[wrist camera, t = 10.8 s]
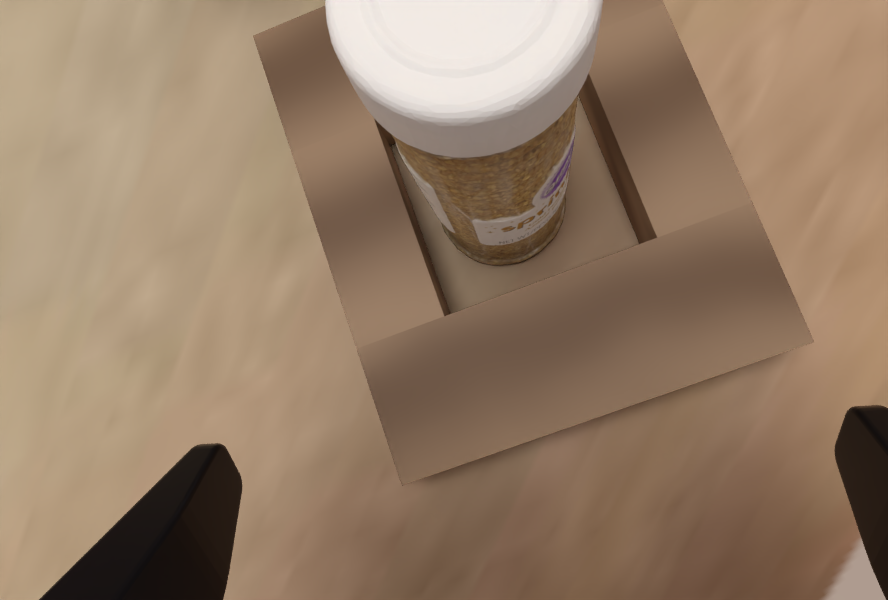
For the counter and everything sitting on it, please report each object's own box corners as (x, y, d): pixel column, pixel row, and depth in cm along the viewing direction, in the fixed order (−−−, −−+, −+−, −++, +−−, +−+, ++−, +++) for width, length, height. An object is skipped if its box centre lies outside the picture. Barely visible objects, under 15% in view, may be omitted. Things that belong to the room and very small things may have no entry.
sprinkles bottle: (551, 278, 23) (574, 141, 10) (425, 253, 24) (287, 94, 10) (577, 153, 23) (634, -144, 10) (453, 132, 24) (353, -170, 11)
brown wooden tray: (782, 345, 22) (814, 341, 19) (416, 473, 23) (401, 485, 20) (603, -64, 24) (611, -114, 22) (280, 69, 25) (252, 35, 23)
